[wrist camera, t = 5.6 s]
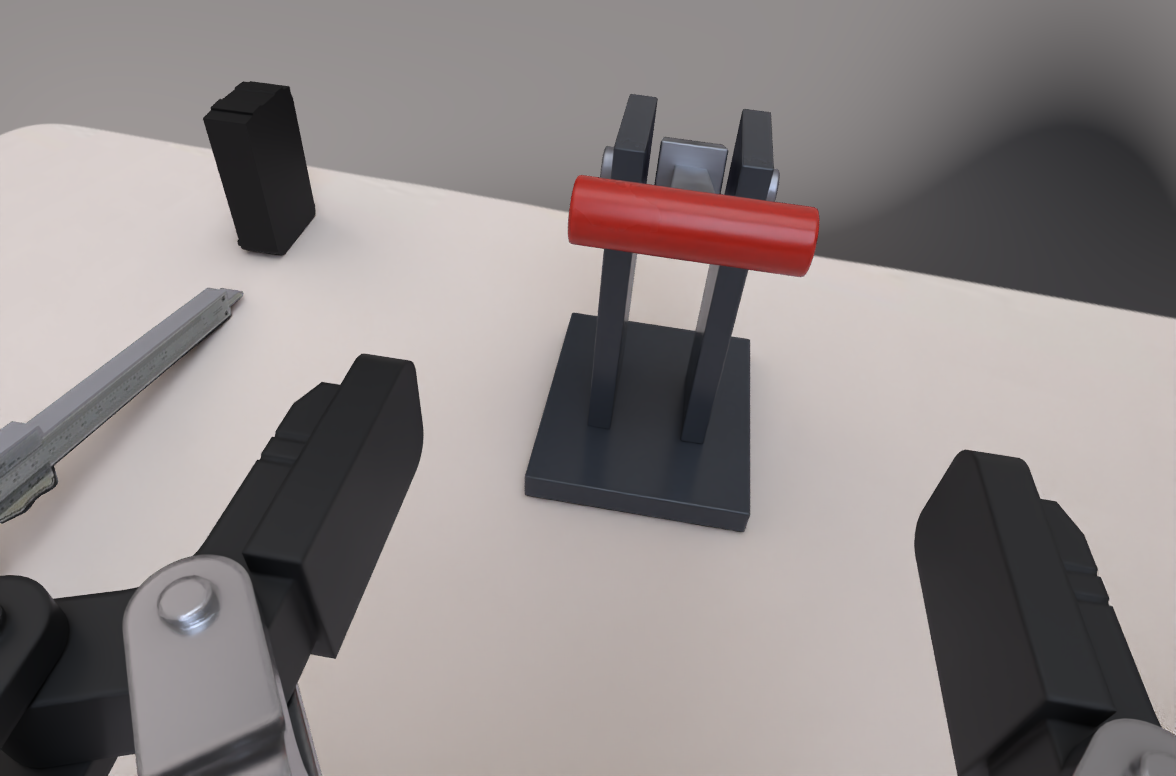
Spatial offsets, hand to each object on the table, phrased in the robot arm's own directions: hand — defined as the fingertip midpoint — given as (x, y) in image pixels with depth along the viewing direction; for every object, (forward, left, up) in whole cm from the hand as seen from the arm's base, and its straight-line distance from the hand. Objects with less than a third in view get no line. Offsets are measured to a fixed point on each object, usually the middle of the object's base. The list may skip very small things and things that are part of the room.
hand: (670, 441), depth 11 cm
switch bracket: (-10, -13, -16) cm, 23 cm away
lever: (-7, -9, -3) cm, 12 cm away
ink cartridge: (0, -35, -16) cm, 38 cm away
